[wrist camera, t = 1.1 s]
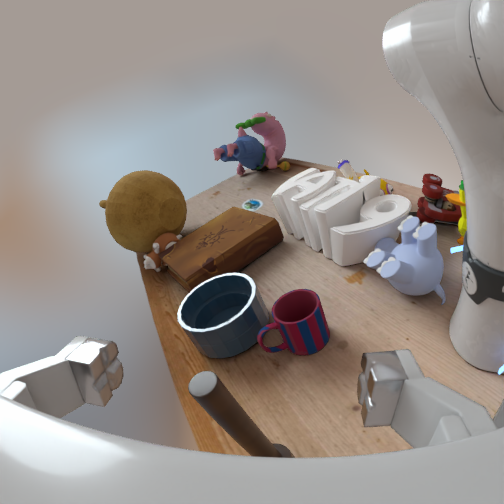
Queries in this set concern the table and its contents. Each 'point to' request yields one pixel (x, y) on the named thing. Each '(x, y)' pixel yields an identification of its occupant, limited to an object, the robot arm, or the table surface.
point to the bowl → (223, 315)
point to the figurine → (160, 250)
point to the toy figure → (460, 200)
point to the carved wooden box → (221, 246)
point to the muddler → (233, 416)
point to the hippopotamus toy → (410, 259)
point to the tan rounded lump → (144, 210)
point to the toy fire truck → (436, 202)
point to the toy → (256, 145)
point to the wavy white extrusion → (339, 213)
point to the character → (350, 174)
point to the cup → (298, 323)
